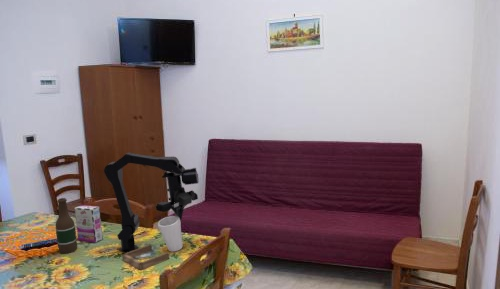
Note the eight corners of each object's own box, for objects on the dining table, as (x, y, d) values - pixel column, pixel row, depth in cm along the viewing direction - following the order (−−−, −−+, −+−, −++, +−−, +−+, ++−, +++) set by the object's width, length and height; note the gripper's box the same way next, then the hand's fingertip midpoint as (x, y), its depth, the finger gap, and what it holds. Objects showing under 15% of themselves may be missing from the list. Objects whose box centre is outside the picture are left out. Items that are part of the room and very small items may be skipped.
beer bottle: (81, 248, 178) (75, 197, 174) (67, 255, 171) (60, 202, 167) (69, 246, 181) (63, 195, 177) (54, 252, 174) (47, 200, 170)
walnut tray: (122, 260, 163) (122, 254, 163) (150, 249, 172) (149, 244, 172) (140, 270, 153) (140, 264, 153) (169, 258, 162) (168, 252, 162)
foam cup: (180, 253, 166) (174, 226, 163) (161, 253, 169) (154, 227, 165) (189, 241, 175) (182, 215, 172) (170, 242, 178) (163, 216, 174)
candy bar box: (103, 239, 187) (99, 206, 185) (95, 243, 183) (92, 209, 180) (85, 236, 192) (81, 204, 189) (77, 240, 187) (73, 207, 184)
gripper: (168, 194, 158) (173, 231, 161) (203, 182, 171) (208, 215, 174) (152, 191, 166) (158, 226, 168) (187, 179, 179) (192, 211, 182)
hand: (180, 219), depth 173 cm, fingers closed
